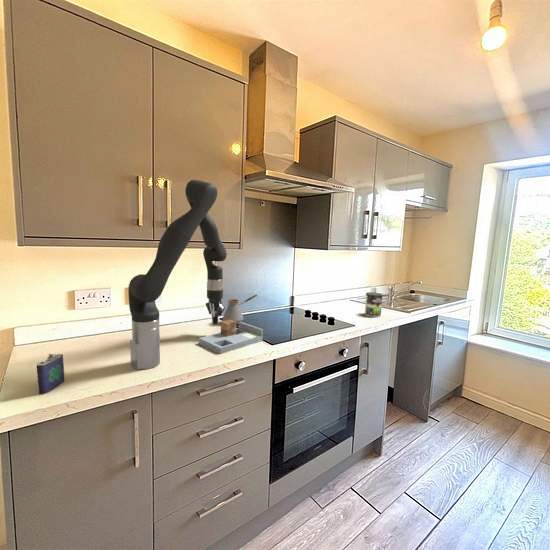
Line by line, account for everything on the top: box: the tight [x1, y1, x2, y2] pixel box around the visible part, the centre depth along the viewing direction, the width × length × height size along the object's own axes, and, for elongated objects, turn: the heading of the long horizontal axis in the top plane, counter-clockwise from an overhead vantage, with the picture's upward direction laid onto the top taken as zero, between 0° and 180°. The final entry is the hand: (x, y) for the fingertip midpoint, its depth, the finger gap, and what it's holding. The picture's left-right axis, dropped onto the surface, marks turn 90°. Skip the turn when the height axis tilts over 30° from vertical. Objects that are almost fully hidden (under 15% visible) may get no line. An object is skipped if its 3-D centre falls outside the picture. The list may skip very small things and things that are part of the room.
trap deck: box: [198, 321, 264, 355], centre depth 137 cm, size 24×16×6 cm, turn 136°
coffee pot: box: [222, 294, 259, 326], centre depth 169 cm, size 21×12×15 cm, turn 124°
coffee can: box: [364, 291, 384, 318], centre depth 195 cm, size 10×10×14 cm
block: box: [220, 320, 237, 337], centre depth 141 cm, size 5×5×6 cm
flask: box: [36, 353, 66, 395], centre depth 93 cm, size 9×3×11 cm, turn 178°
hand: (215, 323), depth 145 cm, fingers closed
